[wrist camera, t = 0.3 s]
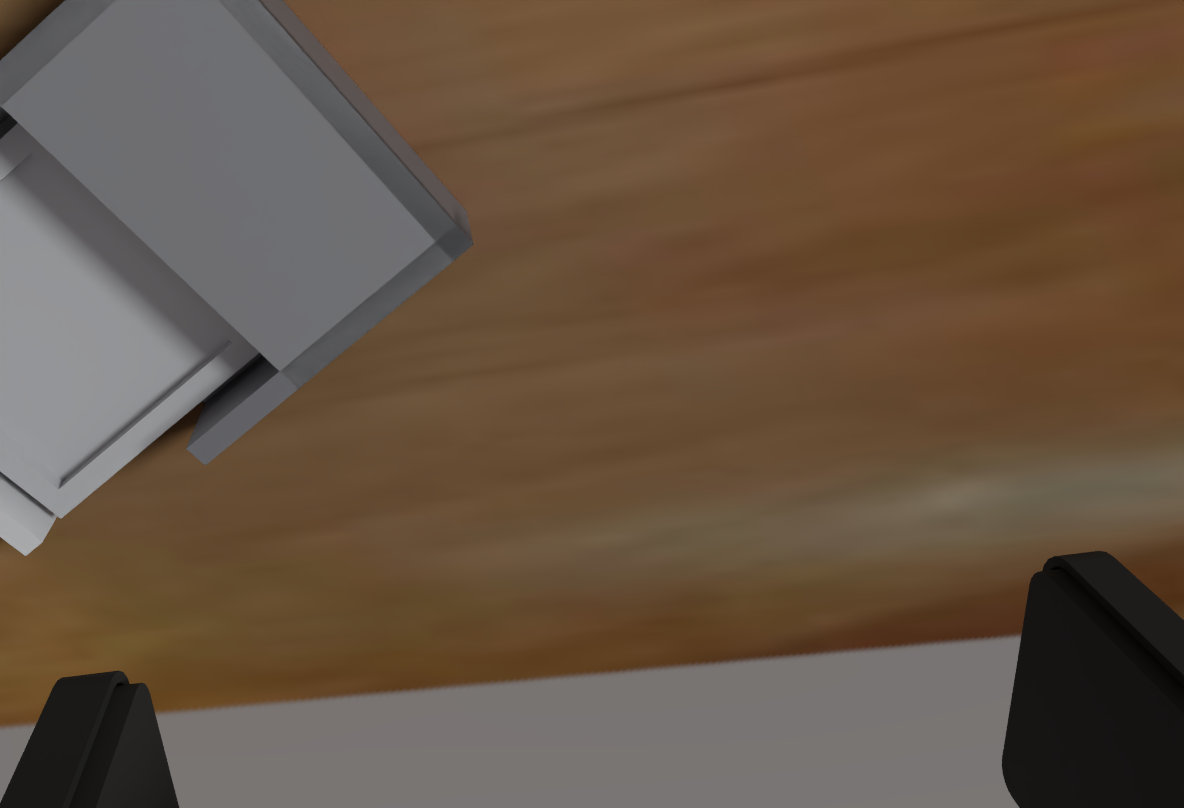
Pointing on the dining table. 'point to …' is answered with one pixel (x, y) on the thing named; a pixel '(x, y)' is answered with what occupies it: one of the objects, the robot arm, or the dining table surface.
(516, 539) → the dining table surface
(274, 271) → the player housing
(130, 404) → the tray
